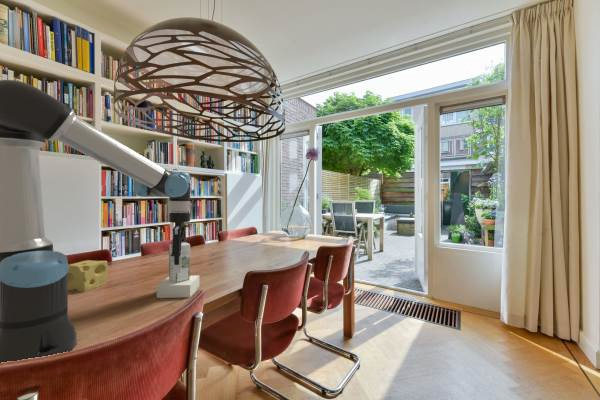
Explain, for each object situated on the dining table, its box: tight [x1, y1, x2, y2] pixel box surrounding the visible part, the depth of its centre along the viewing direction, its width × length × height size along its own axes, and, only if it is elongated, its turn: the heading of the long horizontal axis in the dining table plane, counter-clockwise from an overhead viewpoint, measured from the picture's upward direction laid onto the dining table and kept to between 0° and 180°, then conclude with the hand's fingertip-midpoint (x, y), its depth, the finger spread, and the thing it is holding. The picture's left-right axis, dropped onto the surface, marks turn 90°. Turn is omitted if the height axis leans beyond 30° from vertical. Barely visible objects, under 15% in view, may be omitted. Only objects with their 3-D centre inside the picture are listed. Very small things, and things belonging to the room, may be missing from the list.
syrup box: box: [168, 241, 191, 283], centre depth 106 cm, size 6×6×14 cm
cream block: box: [156, 274, 201, 299], centre depth 106 cm, size 12×12×5 cm
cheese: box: [68, 259, 109, 293], centre depth 110 cm, size 10×11×10 cm
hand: (179, 269), depth 106 cm, fingers open, 8 cm apart
